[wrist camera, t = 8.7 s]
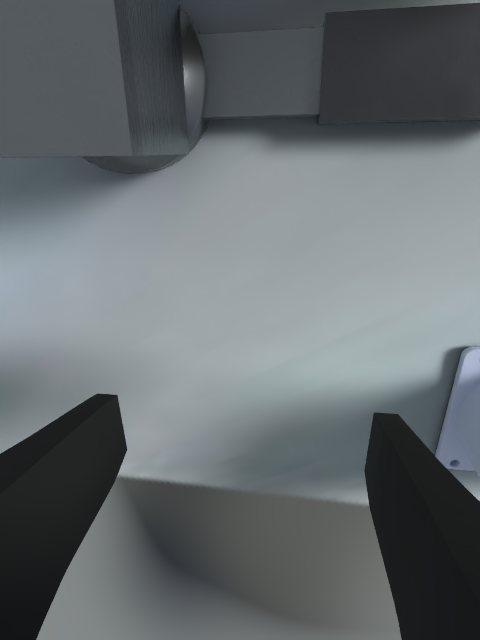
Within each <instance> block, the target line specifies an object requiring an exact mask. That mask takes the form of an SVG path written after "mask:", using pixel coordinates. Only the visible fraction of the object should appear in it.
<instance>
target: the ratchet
mask: <svg viewBox="0 0 480 640" xmlns="http://www.w3.org/2000/svg"><path fill="white" fill-rule="evenodd" d="M179 7H180V23H181V39H182V55H183V71H184V87H185V103H186V119H187V135H188V151H189V152H190V151H191V150H192V149H193V148H194V147H195V146H196V144H197V143H198V141H199V140H200V138H201V137H202V135H203V133H204V131H205V129H206V126H207V124H208V121H209V120H234V119H268V118H302V117H317V125H330V124H368V123H405V122H443V121H480V3H471V4H456V5H440V6H425V7H409V8H394V9H378V10H363V11H347V12H332V13H326V15H325V20H324V25H323V27H312V28H295V29H278V30H262V31H245V32H228V33H212V34H200V32H199V31H198V29H197V27H196V26H195V24H194V23H193V22H192V20H191V19H190V18H189V16H188V15H187V14H186V13H185V11H184V10H183V9H182V8H181V6H180V5H179ZM186 155H187V154H175V155H139V156H82V157H83V158H85V159H86V160H88V161H89V162H91V163H93V164H95V165H97V166H99V167H101V168H104V169H107V170H109V171H114V172H119V173H140V172H147V171H154V170H159V169H163V168H166V167H168V166H171V165H173V164H175V163H176V162H178V161H180V160H181V159H182V158H184V157H185V156H186Z"/></svg>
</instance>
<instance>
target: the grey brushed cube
mask: <svg viewBox="0 0 480 640" xmlns="http://www.w3.org/2000/svg"><path fill="white" fill-rule="evenodd" d="M175 154H189V151H188V135H187V119H186V103H185V87H184V71H183V55H182V39H181V23H180V7H179V0H0V157H68V156H139V155H175Z"/></svg>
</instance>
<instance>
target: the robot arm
mask: <svg viewBox="0 0 480 640" xmlns="http://www.w3.org/2000/svg"><path fill="white" fill-rule="evenodd" d="M479 358H480V347H468V348H466V349H465V350H464V351H463V352H462V354H461V357H460V361H459V365H458V369H457V373H456V376H455V380H454V384H453V388H452V392H451V396H450V400H449V404H448V408H447V411H446V415H445V419H444V423H443V427H442V431H441V435H440V439H439V442H438V446H437V450H436V454H435V455H434V454H433V453H432V452H431V451H430V450H429V449H428V448H427V447H426V445H425V444H424V443H423V442H422V441H421V440H420V439H419V438H418V436H417V435H416V434H415V433H414V432H413V431H412V430H411V428H410V427H409V426H408V425H407V424H406V423H405V422H404V421H403V419H402V418H401V417H400V416H399V415H398V414H387V413H374V415H373V421H372V428H371V434H370V440H369V446H368V452H367V459H366V465H365V477H366V485H367V492H368V499H369V506H370V511H371V514H372V519H373V523H374V526H375V530H376V534H377V538H378V542H379V546H380V550H381V553H382V557H383V561H384V565H385V568H386V572H387V576H388V580H389V584H390V588H391V592H392V596H393V599H394V603H395V608H396V613H397V617H398V622H399V627H400V633H401V638H402V640H480V501H479V500H477V499H476V498H475V497H474V496H473V495H472V494H471V493H470V492H469V491H468V490H467V489H466V488H465V487H464V486H463V485H462V484H461V483H460V482H459V481H458V480H457V479H456V478H455V477H454V476H453V475H452V474H451V473H450V471H449V470H448V469H455V470H466V471H476V472H477V474H478V475H479V477H480V360H479ZM126 451H127V446H126V440H125V435H124V429H123V424H122V418H121V413H120V407H119V402H118V396H117V395H110V394H96V395H94V396H93V397H91V398H89V399H87V400H86V401H84V402H83V403H81V404H79V405H78V406H76V407H75V408H73V409H72V410H70V411H69V412H67V413H65V414H64V415H62V416H61V417H59V418H58V419H56V420H55V421H53V422H52V423H50V424H48V425H47V426H45V427H44V428H42V429H41V430H39V431H37V432H36V433H34V434H33V435H31V436H30V437H28V438H26V439H25V440H23V441H21V442H20V443H18V444H16V445H14V446H13V447H11V448H9V449H8V450H6V451H4V452H3V453H1V454H0V640H36V638H37V636H38V634H39V631H40V629H41V626H42V624H43V621H44V619H45V617H46V614H47V612H48V610H49V608H50V605H51V603H52V601H53V599H54V597H55V594H56V592H57V590H58V587H59V585H60V583H61V581H62V578H63V576H64V574H65V572H66V570H67V568H68V566H69V565H70V562H71V561H72V559H73V557H74V555H75V553H76V551H77V550H78V548H79V546H80V544H81V542H82V540H83V539H84V537H85V535H86V533H87V531H88V530H89V528H90V526H91V524H92V522H93V521H94V519H95V517H96V515H97V513H98V511H99V510H100V508H101V506H102V504H103V502H104V501H105V499H106V497H107V495H108V493H109V491H110V489H111V488H112V486H113V484H114V482H115V479H116V477H117V474H118V472H119V470H120V467H121V464H122V462H123V459H124V456H125V454H126ZM453 460H456V461H454V462H451V461H453Z"/></svg>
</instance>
